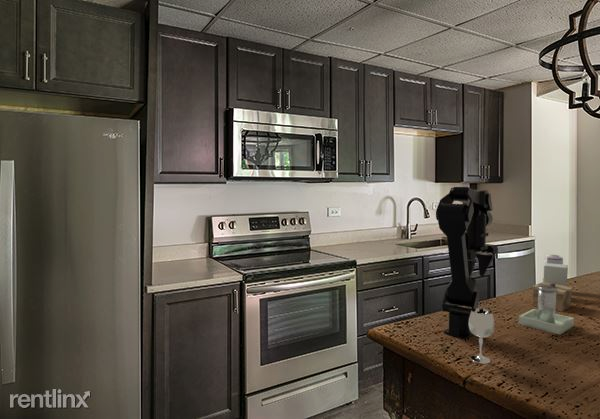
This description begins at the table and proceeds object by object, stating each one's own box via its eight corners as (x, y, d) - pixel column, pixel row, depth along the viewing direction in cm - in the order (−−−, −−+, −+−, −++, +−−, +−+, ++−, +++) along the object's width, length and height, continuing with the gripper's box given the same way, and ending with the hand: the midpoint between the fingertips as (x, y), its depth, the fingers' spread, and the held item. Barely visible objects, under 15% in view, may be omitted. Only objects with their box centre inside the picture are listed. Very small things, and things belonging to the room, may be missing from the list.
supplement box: (565, 302, 143) (567, 267, 142) (542, 298, 147) (543, 265, 147) (567, 297, 149) (568, 264, 148) (544, 294, 153) (545, 262, 153)
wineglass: (463, 359, 95) (464, 311, 95) (473, 352, 100) (474, 306, 99) (488, 367, 91) (489, 316, 91) (497, 359, 95) (498, 311, 95)
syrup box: (562, 293, 154) (564, 257, 153) (545, 292, 156) (546, 256, 155) (559, 290, 159) (560, 254, 158) (542, 288, 161) (543, 254, 160)
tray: (560, 334, 111) (560, 326, 111) (518, 324, 120) (518, 316, 120) (573, 325, 118) (574, 317, 118) (533, 316, 127) (533, 308, 127)
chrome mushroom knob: (547, 327, 116) (549, 290, 115) (532, 321, 121) (533, 286, 120) (560, 324, 118) (561, 288, 117) (544, 319, 122) (545, 284, 122)
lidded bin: (562, 312, 131) (563, 289, 131) (531, 305, 139) (531, 283, 139) (572, 306, 138) (573, 284, 137) (541, 300, 145) (542, 279, 145)
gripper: (466, 225, 136) (465, 270, 137) (436, 229, 124) (435, 277, 125) (499, 228, 127) (498, 275, 128) (470, 232, 116) (469, 284, 116)
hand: (474, 278), depth 125 cm, fingers open, 9 cm apart
